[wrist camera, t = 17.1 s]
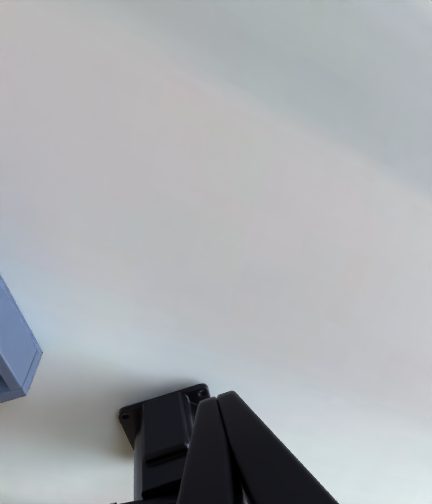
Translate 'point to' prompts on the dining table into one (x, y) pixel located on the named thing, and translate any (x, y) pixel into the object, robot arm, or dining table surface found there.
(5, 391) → the blue-grey tray
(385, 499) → the dining table surface
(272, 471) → the robot arm
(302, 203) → the dining table surface
